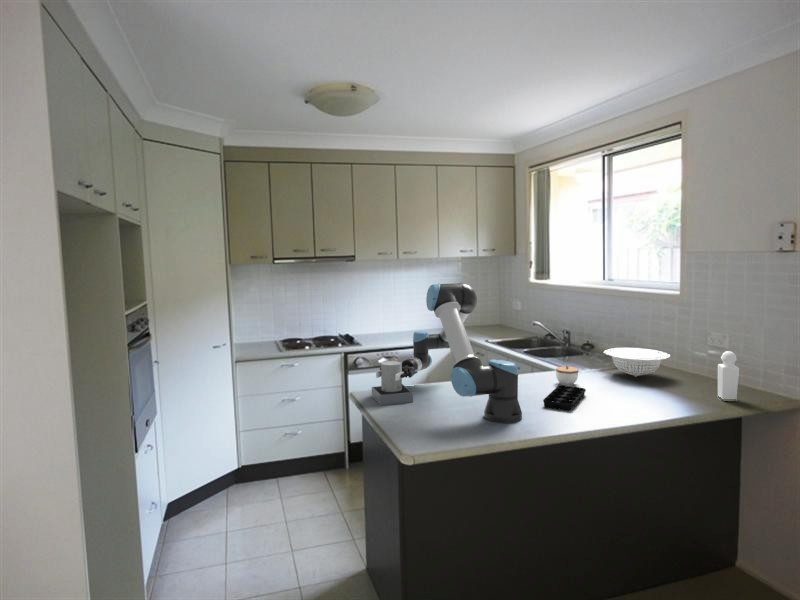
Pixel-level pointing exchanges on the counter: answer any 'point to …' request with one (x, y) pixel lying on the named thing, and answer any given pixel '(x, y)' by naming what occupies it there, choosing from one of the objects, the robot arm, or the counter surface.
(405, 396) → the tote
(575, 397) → the egg carton
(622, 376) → the counter surface
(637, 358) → the colander
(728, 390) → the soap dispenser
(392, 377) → the gray cylinder
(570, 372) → the lidded jar
